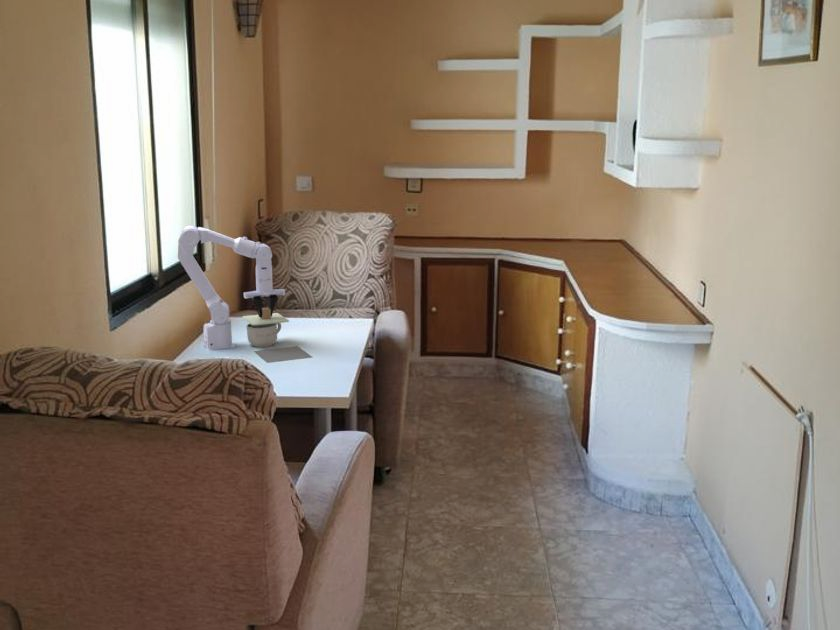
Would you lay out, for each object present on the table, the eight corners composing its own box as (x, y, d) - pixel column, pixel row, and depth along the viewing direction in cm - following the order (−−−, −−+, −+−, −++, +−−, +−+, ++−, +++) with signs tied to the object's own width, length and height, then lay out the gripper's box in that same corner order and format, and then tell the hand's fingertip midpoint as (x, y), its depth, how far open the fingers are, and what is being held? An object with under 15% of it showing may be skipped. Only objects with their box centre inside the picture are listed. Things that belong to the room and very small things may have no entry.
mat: (267, 363, 278) (267, 362, 278) (253, 352, 292) (253, 351, 292) (313, 358, 285) (313, 357, 285) (297, 347, 299) (297, 346, 299)
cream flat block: (252, 325, 292) (252, 314, 291) (242, 317, 303) (242, 306, 302) (288, 321, 297) (288, 310, 296) (277, 314, 309) (277, 303, 308)
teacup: (256, 351, 294) (255, 328, 292) (241, 344, 302) (240, 323, 300) (290, 344, 303) (290, 323, 301) (275, 338, 311) (275, 317, 309)
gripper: (247, 282, 290) (248, 320, 293) (287, 279, 297) (288, 316, 300) (241, 279, 296) (242, 316, 299) (281, 276, 303) (282, 312, 306)
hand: (265, 316), depth 300 cm, fingers closed on cream flat block, 3 cm apart
